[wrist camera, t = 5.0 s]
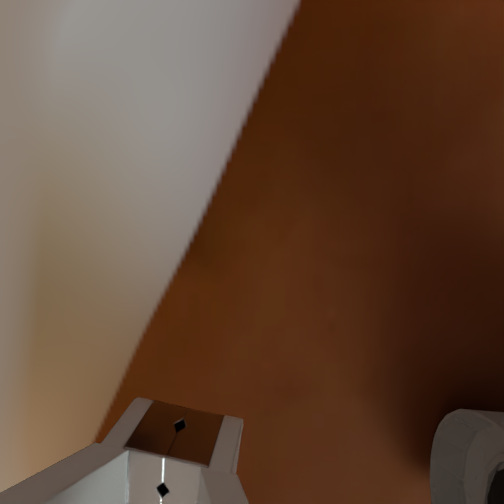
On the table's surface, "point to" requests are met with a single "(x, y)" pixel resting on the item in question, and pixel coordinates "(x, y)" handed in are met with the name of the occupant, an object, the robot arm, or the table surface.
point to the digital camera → (468, 458)
